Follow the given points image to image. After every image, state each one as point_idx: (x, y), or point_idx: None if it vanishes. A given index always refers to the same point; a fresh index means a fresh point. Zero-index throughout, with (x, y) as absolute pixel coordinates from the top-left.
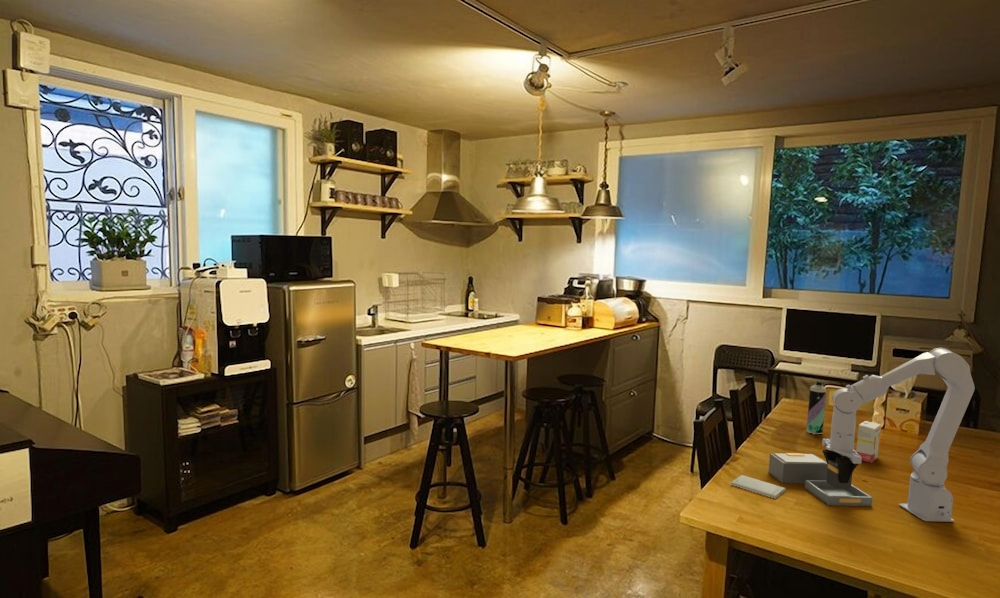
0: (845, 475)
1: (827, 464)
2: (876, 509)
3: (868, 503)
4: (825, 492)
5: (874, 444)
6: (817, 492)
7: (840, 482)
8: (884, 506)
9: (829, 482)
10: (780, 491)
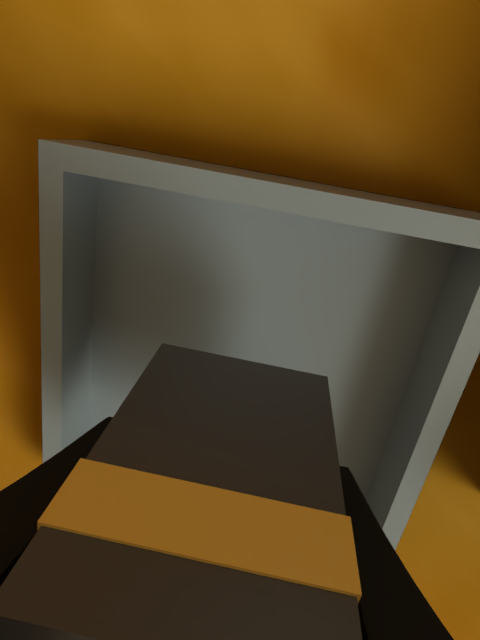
0: None
1: (412, 591)
2: (28, 463)
3: None
4: (315, 322)
5: None
6: (257, 176)
7: (109, 417)
8: None
9: (268, 373)
10: None
